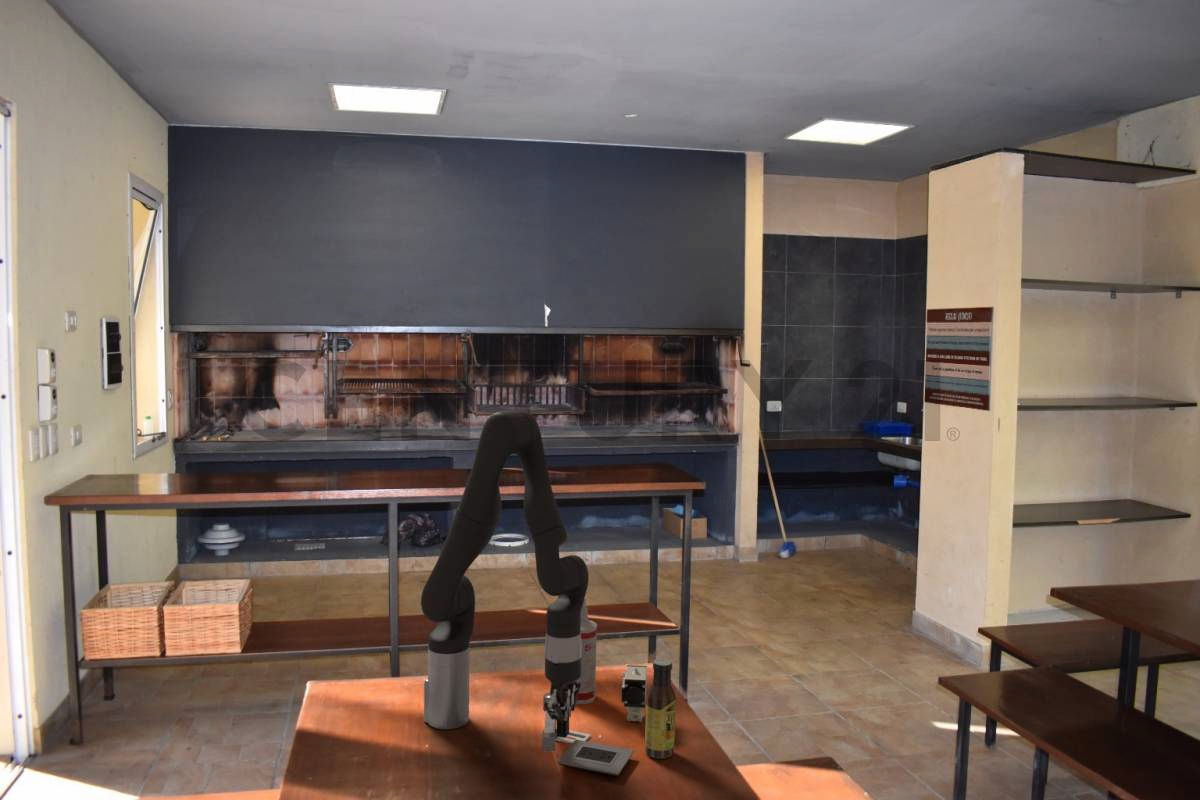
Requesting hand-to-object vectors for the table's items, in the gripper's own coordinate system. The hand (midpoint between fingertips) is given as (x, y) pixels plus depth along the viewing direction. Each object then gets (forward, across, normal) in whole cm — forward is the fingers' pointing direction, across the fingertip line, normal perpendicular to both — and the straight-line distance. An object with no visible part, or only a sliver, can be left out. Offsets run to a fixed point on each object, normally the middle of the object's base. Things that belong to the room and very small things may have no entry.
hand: (562, 735), depth 185 cm
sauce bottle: (+6, -12, +17) cm, 22 cm away
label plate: (+6, -11, -2) cm, 12 cm away
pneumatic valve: (+6, -26, +6) cm, 27 cm away
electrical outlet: (+6, -2, +6) cm, 9 cm away
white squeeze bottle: (+6, -31, -10) cm, 33 cm away
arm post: (+6, -10, -8) cm, 14 cm away
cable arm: (0, -2, -4) cm, 4 cm away
